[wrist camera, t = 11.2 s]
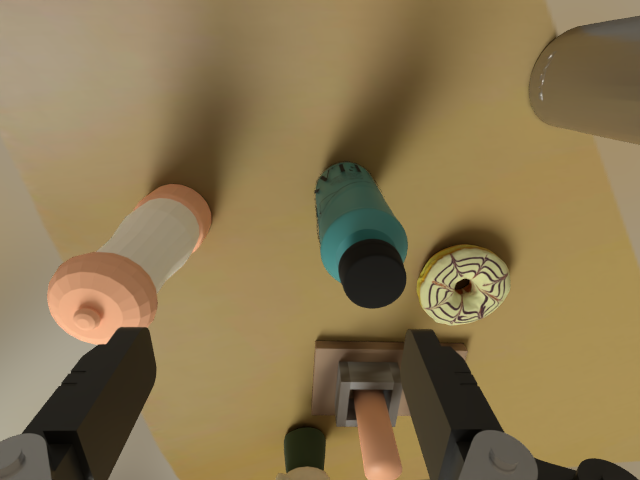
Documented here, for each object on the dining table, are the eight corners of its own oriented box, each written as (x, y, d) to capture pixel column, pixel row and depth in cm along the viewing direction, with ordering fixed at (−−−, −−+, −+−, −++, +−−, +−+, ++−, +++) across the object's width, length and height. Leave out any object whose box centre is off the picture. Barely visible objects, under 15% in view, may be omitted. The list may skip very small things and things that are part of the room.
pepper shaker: (146, 176, 39) (15, 262, 21) (215, 192, 40) (146, 286, 22) (142, 238, 41) (25, 357, 24) (207, 251, 42) (139, 375, 25)
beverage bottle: (361, 147, 38) (413, 214, 20) (381, 203, 41) (442, 307, 23) (303, 170, 39) (302, 256, 21) (326, 224, 42) (343, 341, 23)
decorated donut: (474, 320, 48) (487, 339, 45) (400, 301, 47) (407, 319, 43) (514, 252, 44) (532, 267, 41) (435, 229, 43) (446, 243, 39)
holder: (463, 343, 50) (479, 370, 45) (445, 407, 55) (458, 437, 50) (315, 340, 48) (316, 368, 44) (311, 406, 53) (312, 437, 49)
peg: (382, 373, 49) (404, 458, 38) (378, 394, 51) (399, 483, 40) (352, 372, 49) (366, 458, 38) (350, 394, 51) (362, 483, 40)
